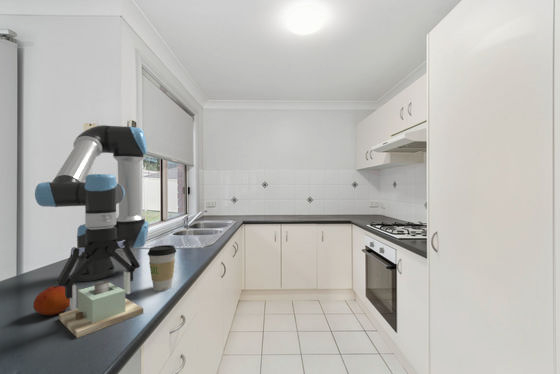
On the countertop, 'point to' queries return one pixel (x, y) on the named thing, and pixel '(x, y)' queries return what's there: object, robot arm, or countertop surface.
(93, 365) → the countertop surface
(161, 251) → the coffee cup
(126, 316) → the post base
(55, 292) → the fruit
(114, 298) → the green block with window
